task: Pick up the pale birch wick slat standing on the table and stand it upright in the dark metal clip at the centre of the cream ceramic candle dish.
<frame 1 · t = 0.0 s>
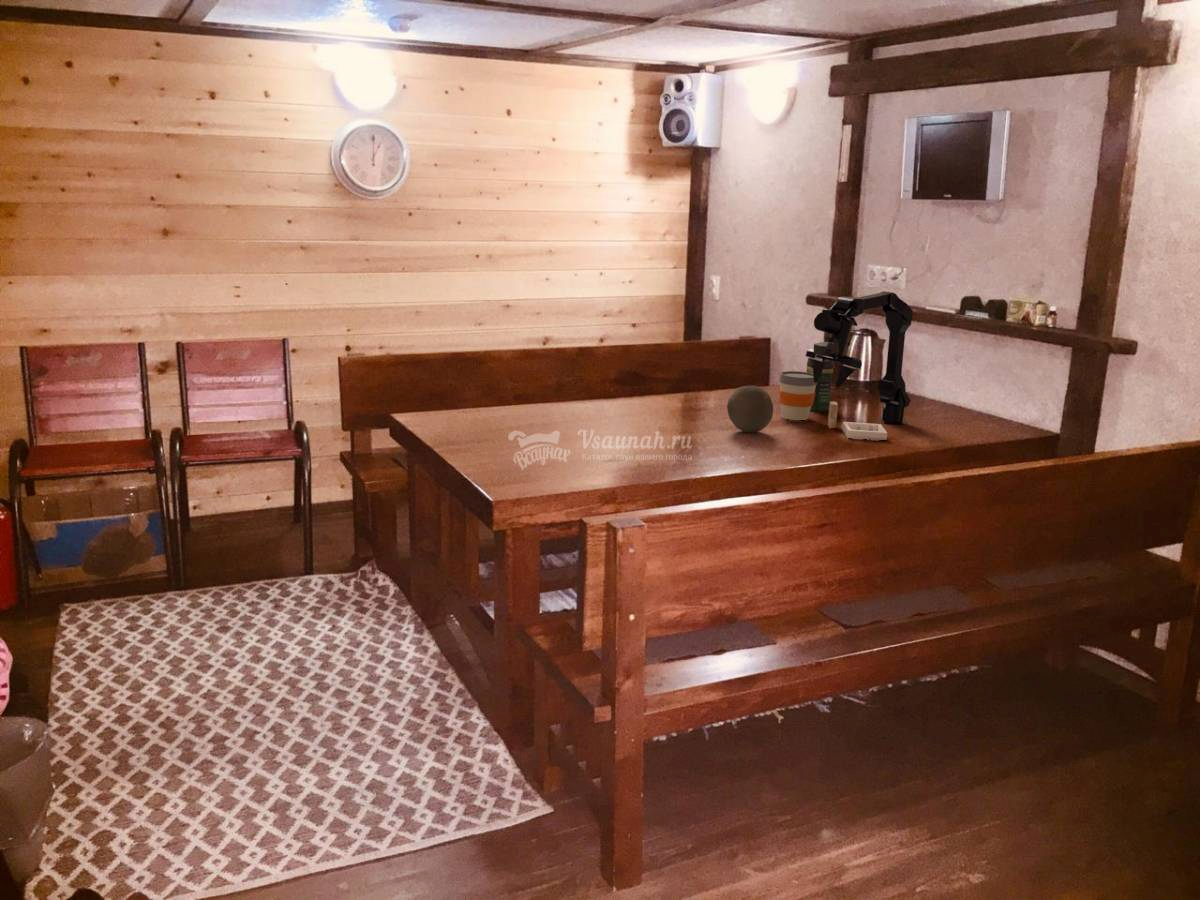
hand: (826, 385, 312), 15 cm above the table, tool pointing down, fingers open, 9 cm apart
coffee jar: (815, 409, 351), on the table
dish: (863, 435, 316), on the table
reusable coffee cup: (794, 418, 336), on the table
wick: (831, 426, 325), on the table
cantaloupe: (748, 433, 312), on the table
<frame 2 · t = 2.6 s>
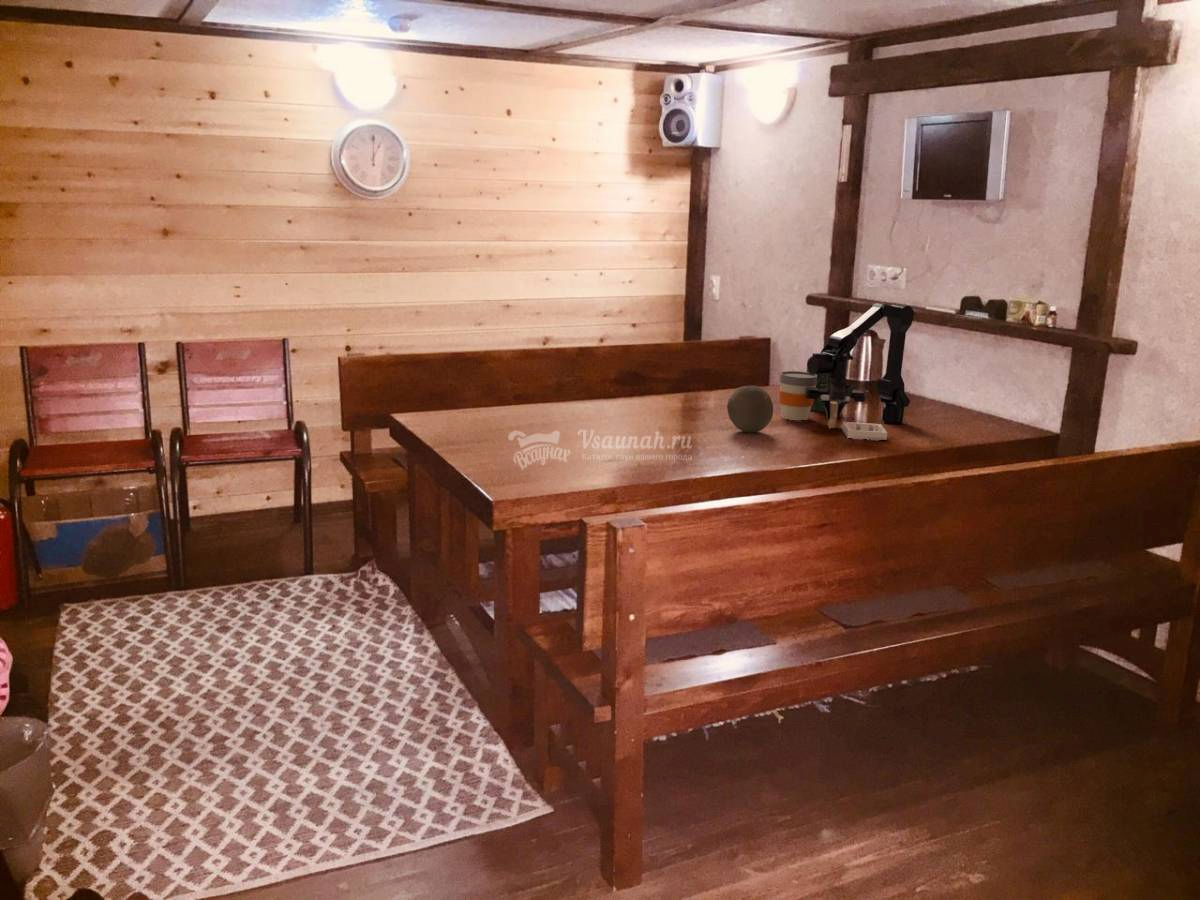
hand: (832, 420, 324), 2 cm above the table, tool pointing down, fingers closed on wick, 2 cm apart
wick: (831, 426, 325), on the table, touching gripper
everything else where it was.
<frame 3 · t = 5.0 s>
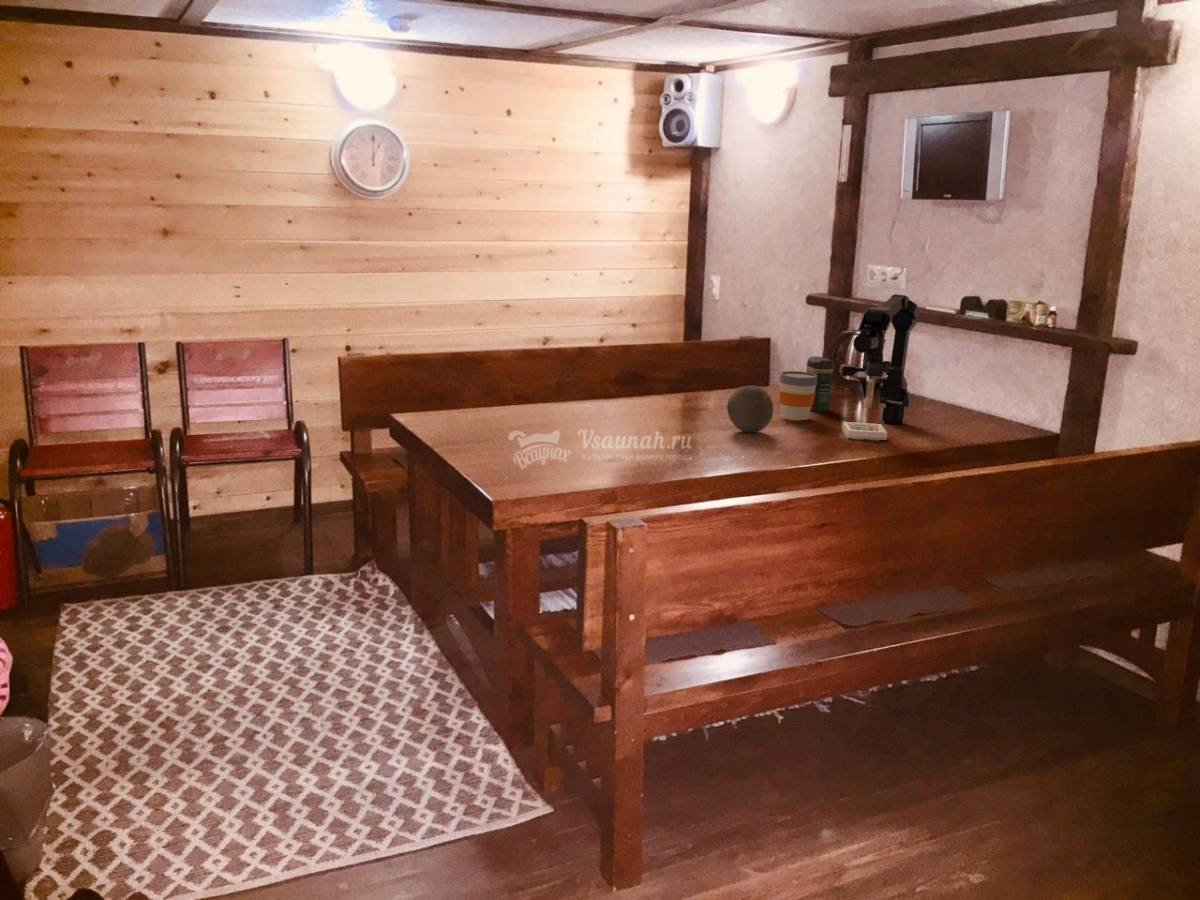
hand: (868, 398, 313), 12 cm above the table, tool pointing down, fingers closed on wick
wick: (867, 405, 313), point 10 cm above the table, touching gripper
everything else where it was.
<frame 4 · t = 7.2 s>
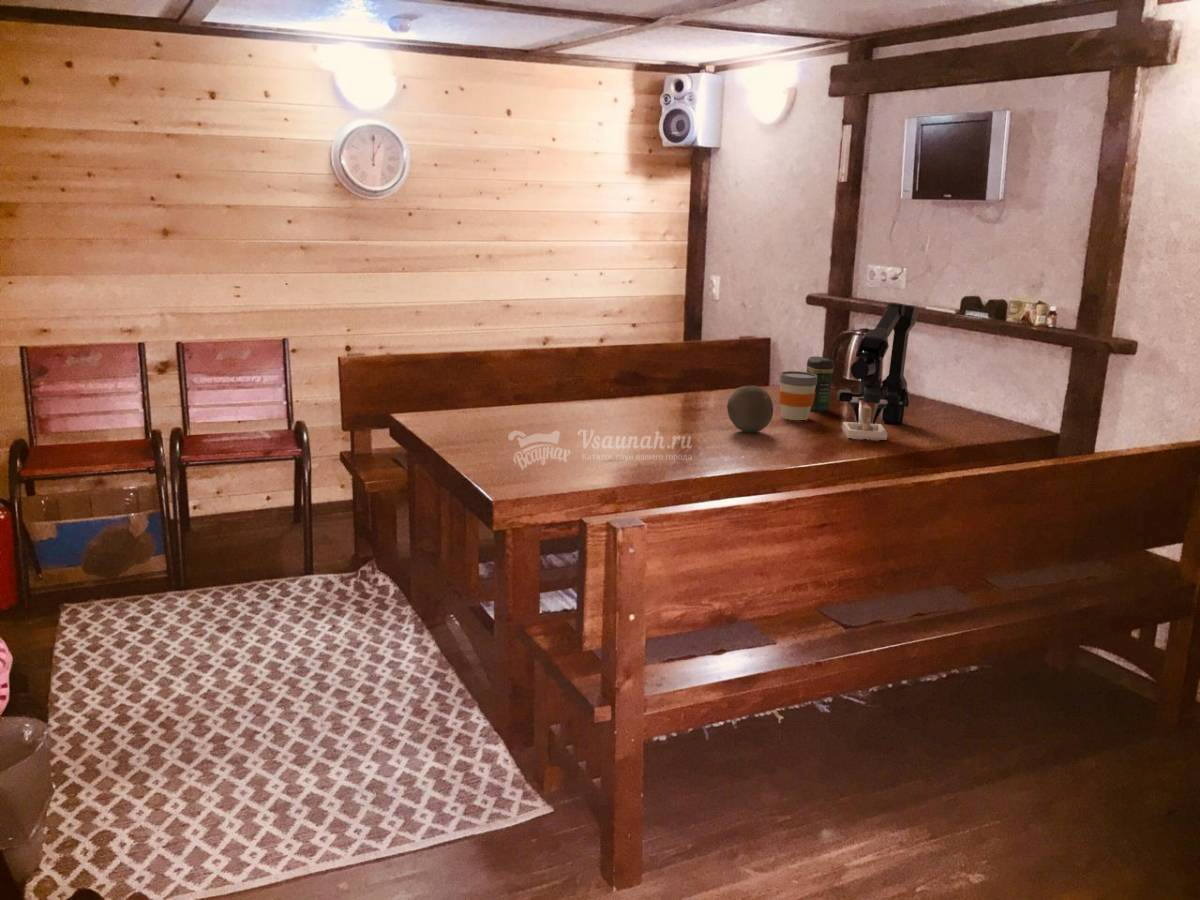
hand: (865, 423, 315), 4 cm above the table, tool pointing down, fingers open, 5 cm apart
wick: (864, 432, 315), point 1 cm above the table, touching dish
everything else where it was.
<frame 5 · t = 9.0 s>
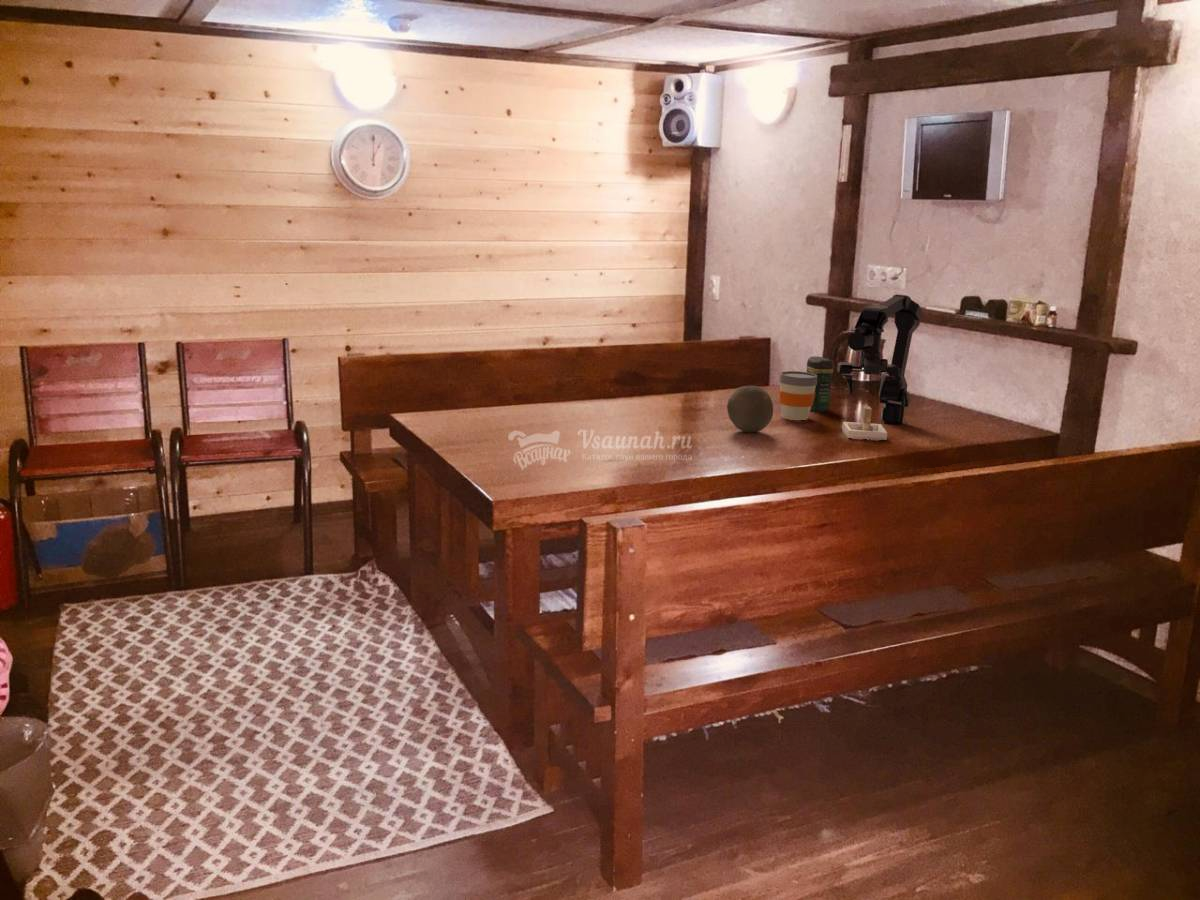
hand: (865, 395, 316), 12 cm above the table, tool pointing down, fingers open, 9 cm apart
nothing on the table moved.
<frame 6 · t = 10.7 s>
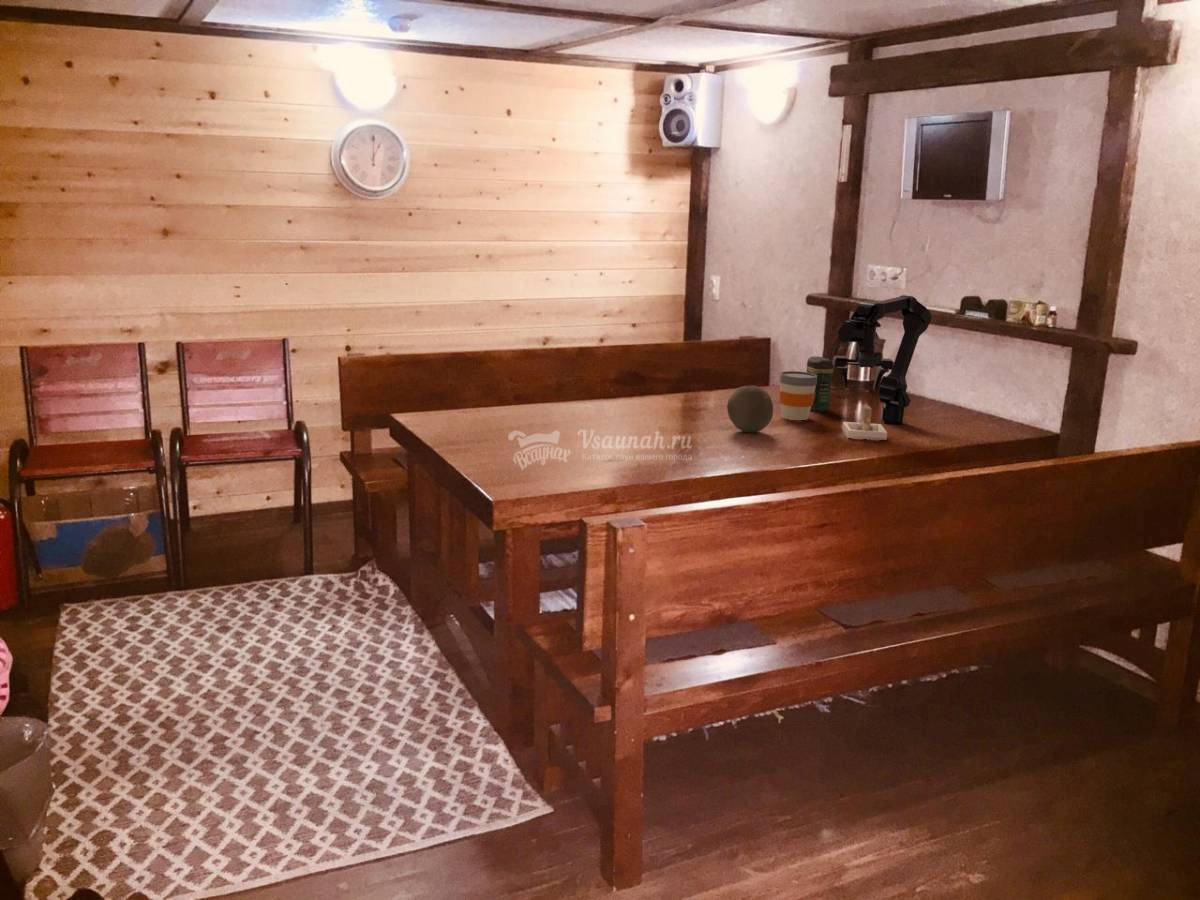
hand: (860, 388, 322), 13 cm above the table, tool pointing down, fingers open, 9 cm apart
nothing on the table moved.
at the end: wick 0.3 cm off-centre on the dish, point 1.1 cm above the dish's base; wick tilted 0°; the gripper is holding nothing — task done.
